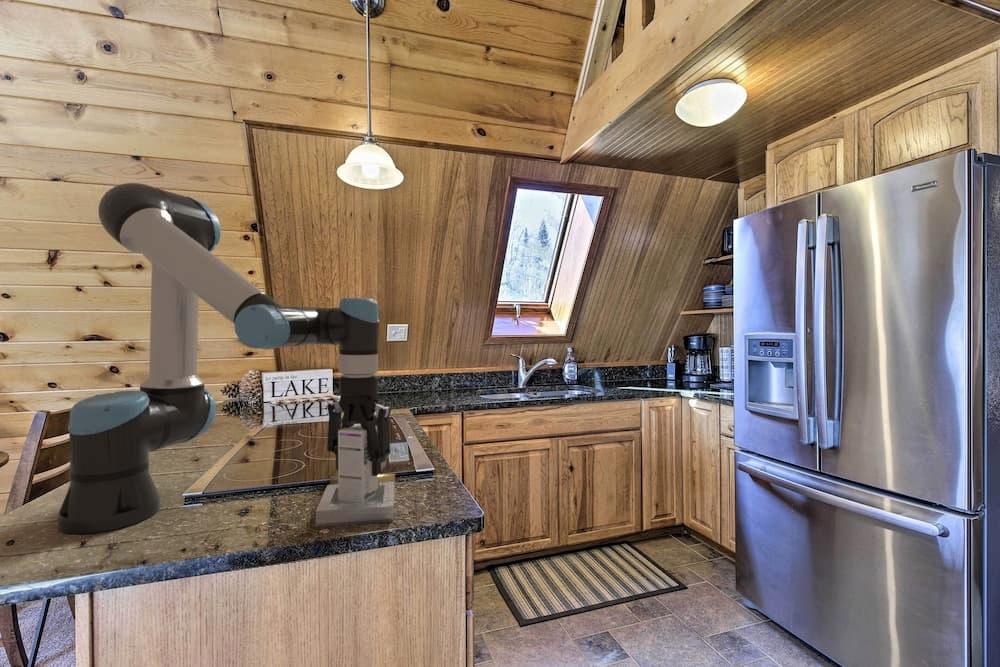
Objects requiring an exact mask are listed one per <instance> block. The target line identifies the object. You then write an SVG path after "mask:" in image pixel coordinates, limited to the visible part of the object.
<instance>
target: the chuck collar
mask: <svg viewBox="0 0 1000 667" xmlns="http://www.w3.org/2000/svg"><path fill="white" fill-rule="evenodd" d="M320 498H321V499H320V501H319V503H318V505H317V507H316V510H315V527H316V528H323V527H333V526H334V527H335V526H351V525H352V526H353V525H365V524H378V523H381V524H382V523H393V522H394V511H395V510H394V507H395V487H394V481H393V482H378V493H377V494H376V495H374V496H373V497H372V498H370V499H369V500H367V501H366V502H365V503H364V504H359V503H351V502H344V501H340V500H339V498H338V484H335V485H330V484H327V485H326V488H325V490H324V491H323V494H322V496H321V497H320Z"/></svg>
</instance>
